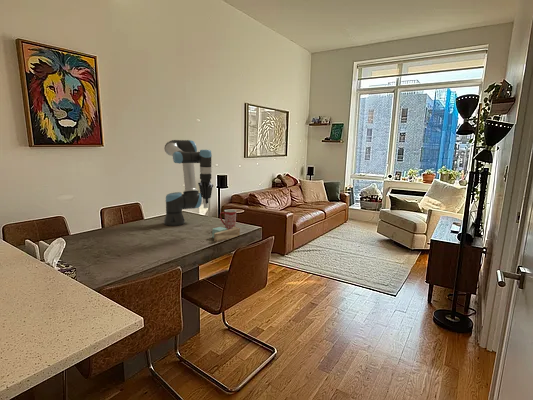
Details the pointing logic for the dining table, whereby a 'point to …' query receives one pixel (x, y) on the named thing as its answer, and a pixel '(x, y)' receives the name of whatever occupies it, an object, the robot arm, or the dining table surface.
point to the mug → (229, 218)
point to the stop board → (227, 234)
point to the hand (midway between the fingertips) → (205, 207)
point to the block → (217, 230)
